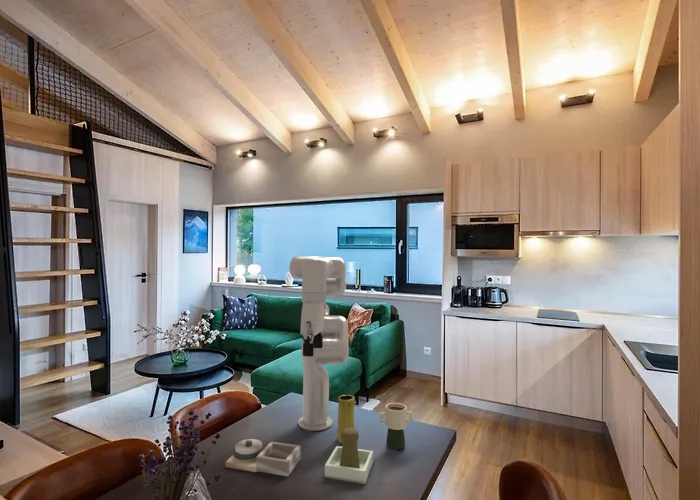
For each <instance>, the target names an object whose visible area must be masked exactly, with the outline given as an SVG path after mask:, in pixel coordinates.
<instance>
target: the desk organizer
mask: <svg viewBox="0 0 700 500" xmlns="http://www.w3.org/2000/svg"><path fill="white" fill-rule="evenodd" d="M301 460H302V445H299V444H292V443H291V444H290V443H284V442H277V441H270V442H269V443H268V444H267V445H266V446H265V447H264V444H263V442H262V441H261V440H260V439H256V438H248V439H243V440H240V441H238V442H237V443H236V444H235V446H234V447H233V454H232V455H231V457H229V458H228V459H227V460H226V461H225V468H229V469H233V470H239V471H240V470H241V471H246V472H252V473H257V472H259V473H264V474H265V473H266V474H269V475H270V474H272V475H278V476H282V477H289V475H290V474H291V473H292V471H294V469H295V468H296V466H297V465H298V463H299V462H300V461H301Z"/></svg>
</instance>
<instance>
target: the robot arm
mask: <svg viewBox="0 0 700 500" xmlns="http://www.w3.org/2000/svg"><path fill="white" fill-rule="evenodd" d="M288 269H289V274H290V276H291V278H292V279H295V280H301V303H302V307H301V308H302V309H301V314H300V315H301V317H300V318H301V319H300V335H302V344H301V348H300V349H301V351H300V352H301V357H302V359H301V361H302V374H303V376H302V377H303V379H302V416H301V417H300V418H299V419H298V427H300V428H301V429H303V430H306V431H312V432H313V431H314V432H317V431H324V430H326V429H328V428H330V427H331V426H332V425H333V423H334V421H333V419H332V417H331V416H329V409H330V407H329V404H330V403H329V401H330V400H329V399H330V397H329V396H330V395H329V394H330V377H329V373H328V371H327V369H326V367H324V365H344V364H346V363H347V362H348V360H349V350H350V349H349V347H350V346H349V324H348V320H347V318H346V317H344V316H342V315H330V307H329V305H328V304H327V303H326V302H327V297H341V296H343V295H344V293H345V292H346V275H347V274H346V272H347V271H346V263H345V261H344V260H343V258H342V257H339V256H320V255H312V256H311V255H310V256H308V255H307V256H306V255H305V256H304V255H301V256H299V255H297V256H296V255H295V256H293V257H292V258H291V260H290V261H289V268H288Z"/></svg>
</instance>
